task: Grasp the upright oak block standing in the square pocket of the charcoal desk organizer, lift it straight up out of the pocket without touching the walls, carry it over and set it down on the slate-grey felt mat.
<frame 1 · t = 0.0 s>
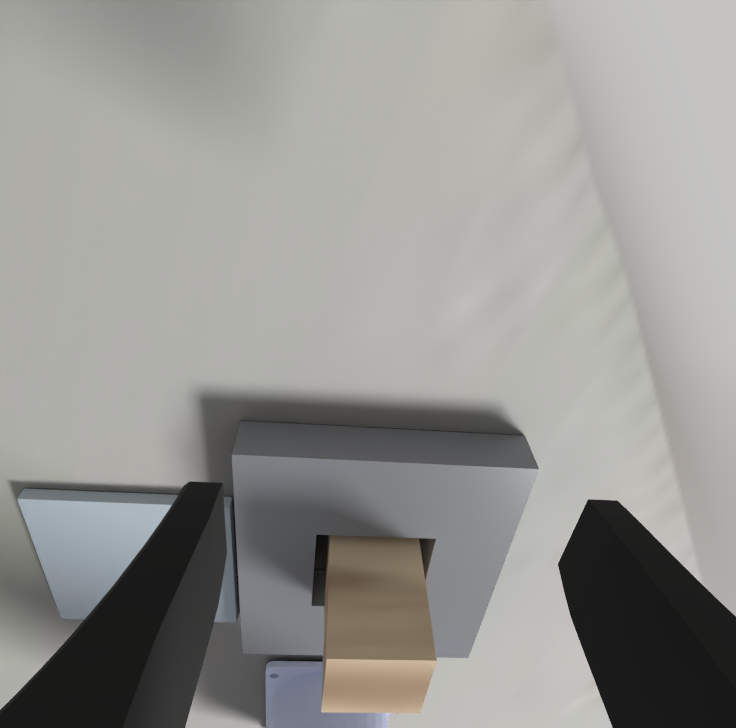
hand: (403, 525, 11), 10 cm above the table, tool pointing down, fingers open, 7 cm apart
oak block: (372, 603, 23), in the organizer
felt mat: (142, 556, 26), on the table
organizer: (369, 538, 26), on the table
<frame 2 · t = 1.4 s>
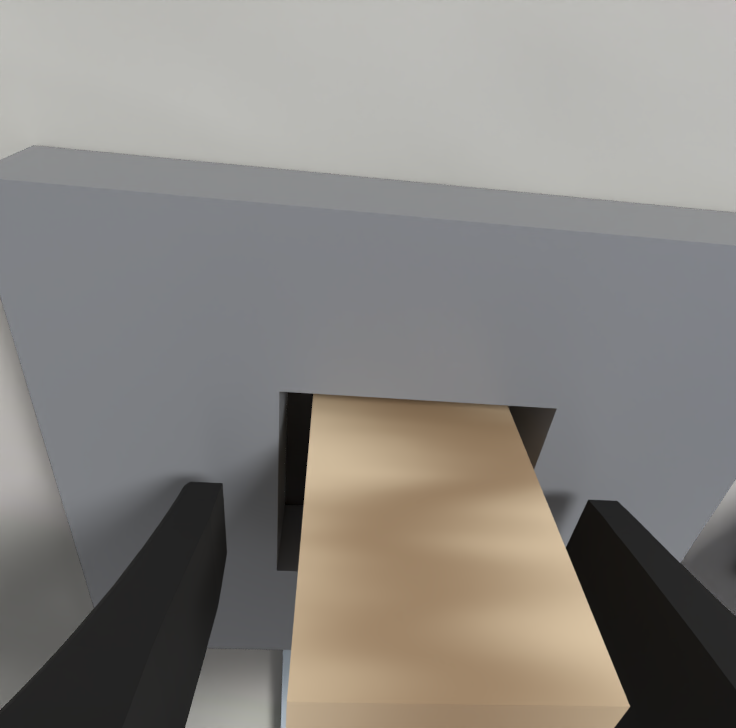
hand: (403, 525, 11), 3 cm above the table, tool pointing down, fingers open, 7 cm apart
oak block: (408, 556, 10), in the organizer
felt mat: (410, 672, 19), on the table
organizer: (394, 435, 13), on the table
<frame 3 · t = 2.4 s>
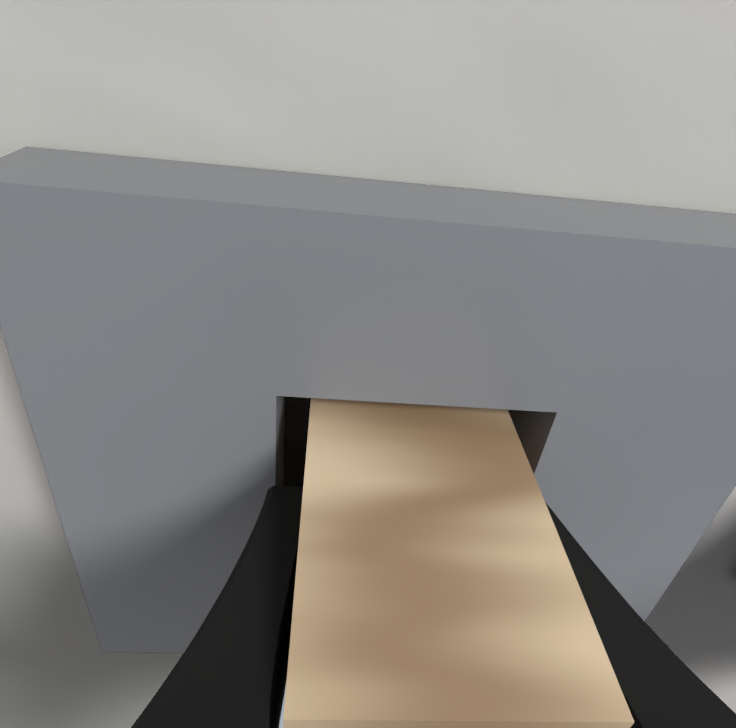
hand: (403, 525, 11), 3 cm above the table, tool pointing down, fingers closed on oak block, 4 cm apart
oak block: (407, 563, 10), in the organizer, touching gripper
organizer: (393, 438, 13), on the table
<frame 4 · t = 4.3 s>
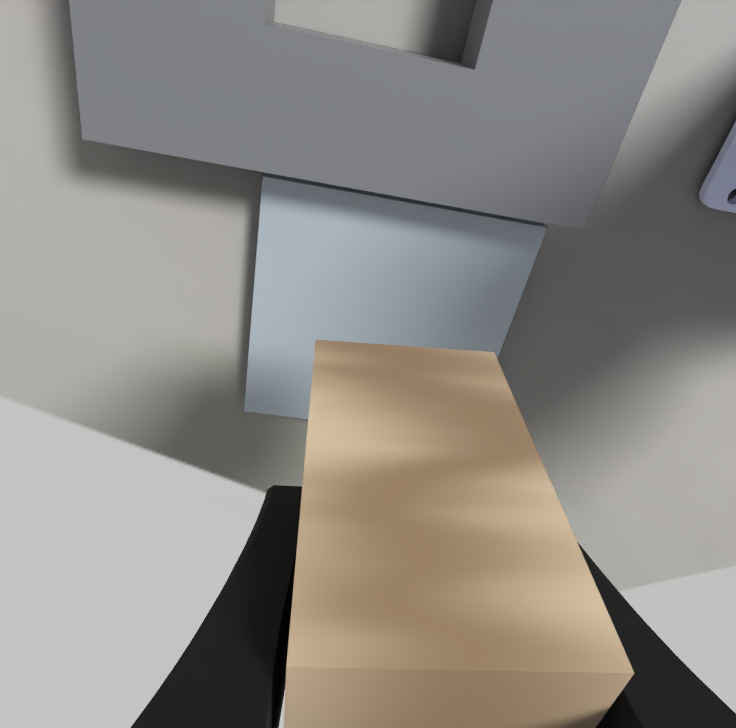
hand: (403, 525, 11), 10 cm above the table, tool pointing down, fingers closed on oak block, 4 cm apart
oak block: (408, 534, 10), point 10 cm above the table, touching gripper
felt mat: (380, 320, 19), on the table
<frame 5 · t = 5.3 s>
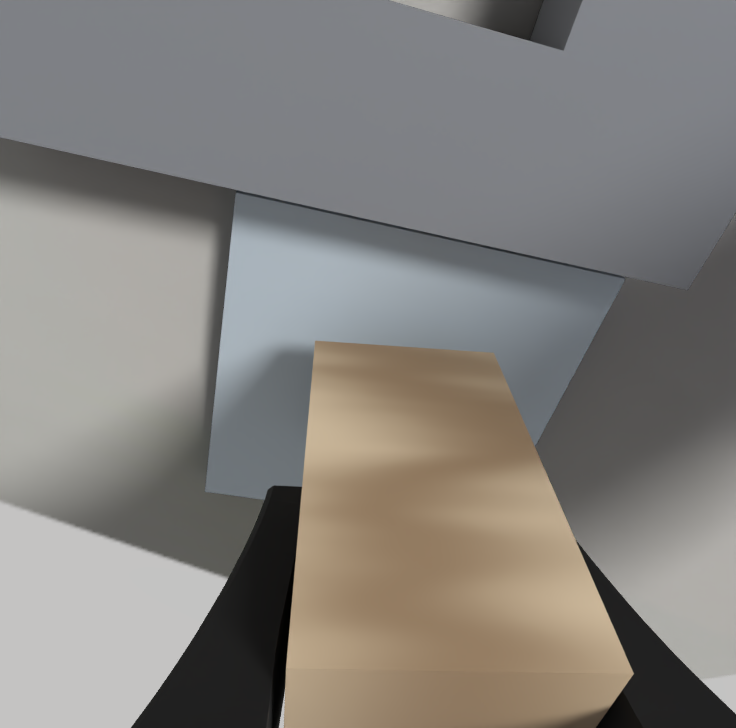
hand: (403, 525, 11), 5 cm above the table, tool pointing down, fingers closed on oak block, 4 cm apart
oak block: (408, 535, 10), point 5 cm above the table, touching gripper
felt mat: (388, 384, 15), on the table
when the fingers open (4 cm above the table, at t = 6.3 s): oak block stays where it is, resting on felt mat.
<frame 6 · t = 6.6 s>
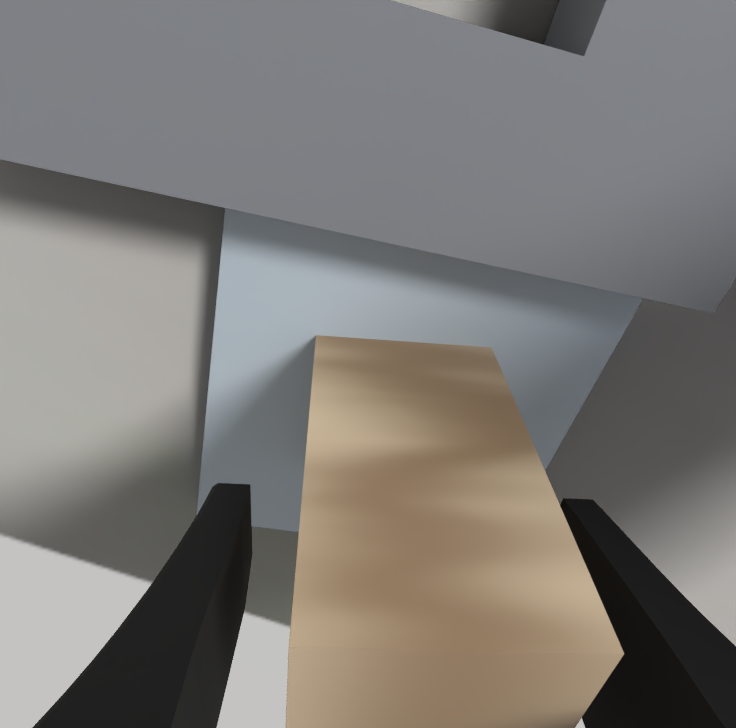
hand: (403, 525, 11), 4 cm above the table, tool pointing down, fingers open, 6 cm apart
oak block: (407, 525, 10), on the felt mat, point 4 cm above the table
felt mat: (390, 407, 14), on the table
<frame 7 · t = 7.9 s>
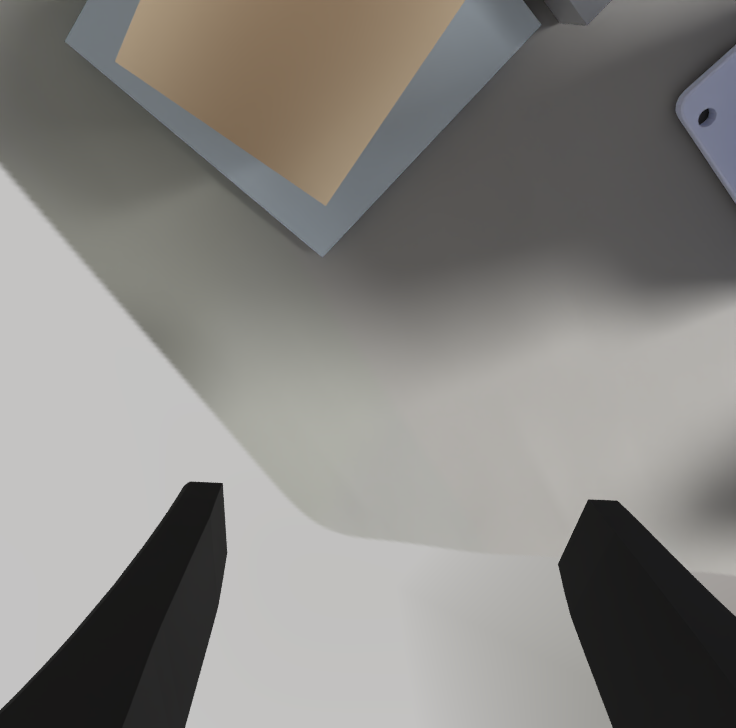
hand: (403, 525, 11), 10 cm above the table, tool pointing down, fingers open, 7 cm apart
oak block: (303, 22, 11), on the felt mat, point 4 cm above the table
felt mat: (305, 32, 15), on the table
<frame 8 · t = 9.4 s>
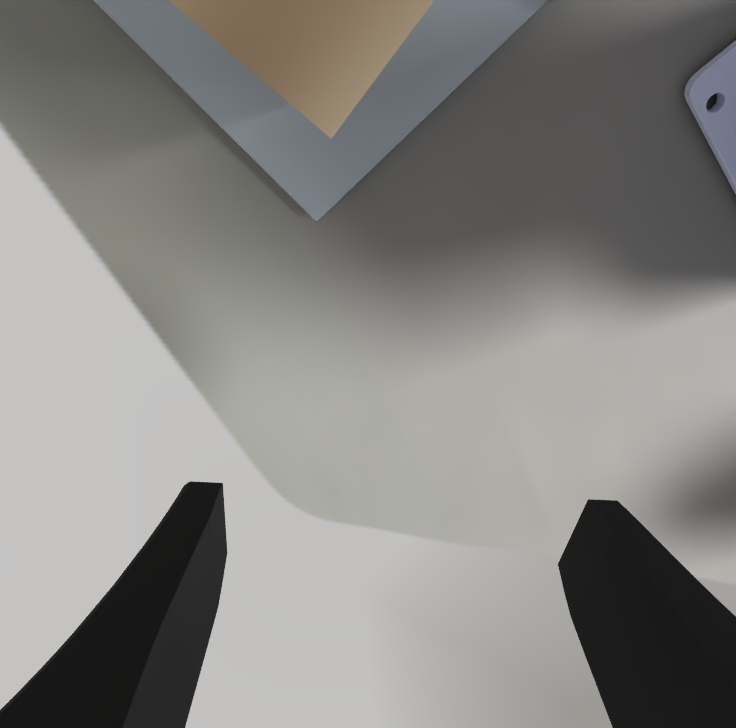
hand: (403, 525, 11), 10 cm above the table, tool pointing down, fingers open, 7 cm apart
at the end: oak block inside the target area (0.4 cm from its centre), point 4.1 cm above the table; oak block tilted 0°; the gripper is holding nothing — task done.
